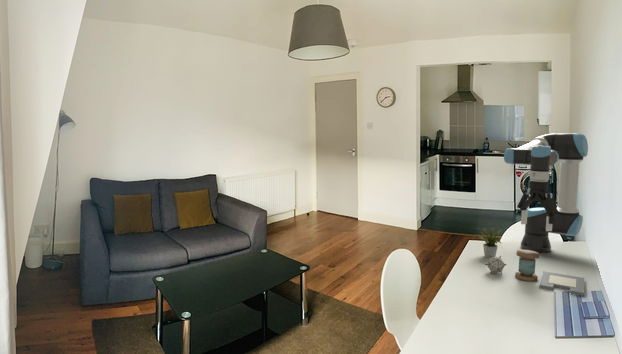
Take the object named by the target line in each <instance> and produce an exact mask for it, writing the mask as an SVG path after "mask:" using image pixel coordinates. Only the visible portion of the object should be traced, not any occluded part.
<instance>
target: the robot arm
mask: <svg viewBox="0 0 622 354" xmlns="http://www.w3.org/2000/svg"><path fill="white" fill-rule="evenodd" d="M587 139H588V138H587V136H586V135H584V134H583V133H575V132H574V133H547V134H543V135H540V136H537V137H535V138H533V139H531V140H530V141H529V143H526V144H523V145H522V146H519V147H517V148H514V147H512V148H506V149H505V151H504V153H503V161H504V163H506V164H509V165H525V166H526V165H527V166H530V169H529V171H530V172H529V179H530V180H529V183H528V188H529V189H524V190H523V194H522V196H521V198H520V200H519V202H518V204H517V206H516V207H517V208H518V209H520V219H521V220H520V225H524V235H523V237H522V239H521V241H520V248H521V250H531V251H535V252H538V253H549V251H550V252H551V250H552V245H551V241H550V238H549V233H550V234H555V235H561V236H562V235H563V236H566V237H567V236H568V237H569V236H570V237H576V236H577V235H578V234H579V233H580V230H581V229H582V224H583V221H584V217H583V215H582V214H580V211H579V209H578V208H577V201H578V200H577V199H578V188H579V176H580V174H579V173H580V163H582V161H584V158H585V157H587V156H588V152H589V144H588V140H587ZM557 162H559V163H560V164H559V174H558V175H559V177H558V178H559V179H558V189H557V192H558V193H557V203H556V201H555V199H554V197H555V196H554V195H555V194H554V193H553V192H552V193H551V192H549V193H548V190H549V180H550V167H551V166H554V165H555V164H557ZM533 202H538V203H540V204H541V205H542V206H543V207H532V208H529V207H530V206H531V204H532V203H533Z"/></svg>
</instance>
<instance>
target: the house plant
mask: <svg viewBox="0 0 622 354" xmlns="http://www.w3.org/2000/svg"><path fill="white" fill-rule="evenodd" d="M493 228H494V226H492V227H491V229H490V233H488V230H487V228H485V227H484V228H482V229H480V228H478V227H477V229H478V230H480V232H481V234H482V235H483V236H479V237H478V238H479V239H481V240H483V241H484V243H483V253H484V254H483V255H484V257H485V258H489V259H490V256H491V257H497V256H496V255H497V250H498V246H499V245H497V244H498V243H500V244H502V242H501V241H500V240H501V237H498V235H499V234H501V231H503V229H500V230H498V231H497V232H496V233H494V229H493ZM496 230H497V229H495V231H496ZM489 255H490V256H489Z"/></svg>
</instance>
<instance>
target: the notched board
mask: <svg viewBox="0 0 622 354" xmlns="http://www.w3.org/2000/svg"><path fill="white" fill-rule="evenodd" d="M538 289H541V290H548V291H553V290H554V289H560V290H564V291H569V294H570V293H571V294H570V295H573V294H575V295H574V296H578V295H584V296H585V277H580V276H575V275H570V274H569V275H568V274H563V273H558V272H557V273H556V272H551V271H544V270H543V271H542V275H541V278H540V281H539V288H538Z"/></svg>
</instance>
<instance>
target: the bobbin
mask: <svg viewBox="0 0 622 354" xmlns="http://www.w3.org/2000/svg"><path fill="white" fill-rule="evenodd" d="M515 254H516V256H518V257H519V258H518V259H519V260H518V270H517V272H515V274H514V277H515V279H517V280H519V281H521V282H525V283H526V282H527V283H534V282H537V281H538V278H539V277H538V275H537V274H536V260H537V259H539V258H540V252H535V251H531V250H525V249H518V250H516V253H515Z"/></svg>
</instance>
